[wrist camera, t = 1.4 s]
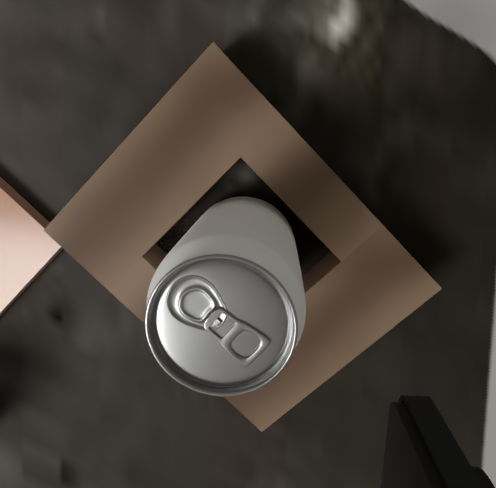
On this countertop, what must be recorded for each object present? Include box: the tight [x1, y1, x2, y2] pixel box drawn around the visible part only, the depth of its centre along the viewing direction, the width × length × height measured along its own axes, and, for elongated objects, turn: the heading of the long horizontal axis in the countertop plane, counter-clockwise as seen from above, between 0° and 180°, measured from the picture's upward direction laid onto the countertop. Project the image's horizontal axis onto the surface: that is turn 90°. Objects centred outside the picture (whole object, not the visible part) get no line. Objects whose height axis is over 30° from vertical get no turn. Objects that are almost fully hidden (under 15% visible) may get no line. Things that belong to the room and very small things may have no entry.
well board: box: [44, 42, 442, 432], centre depth 26 cm, size 18×14×3 cm
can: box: [145, 196, 306, 396], centre depth 21 cm, size 6×6×12 cm
